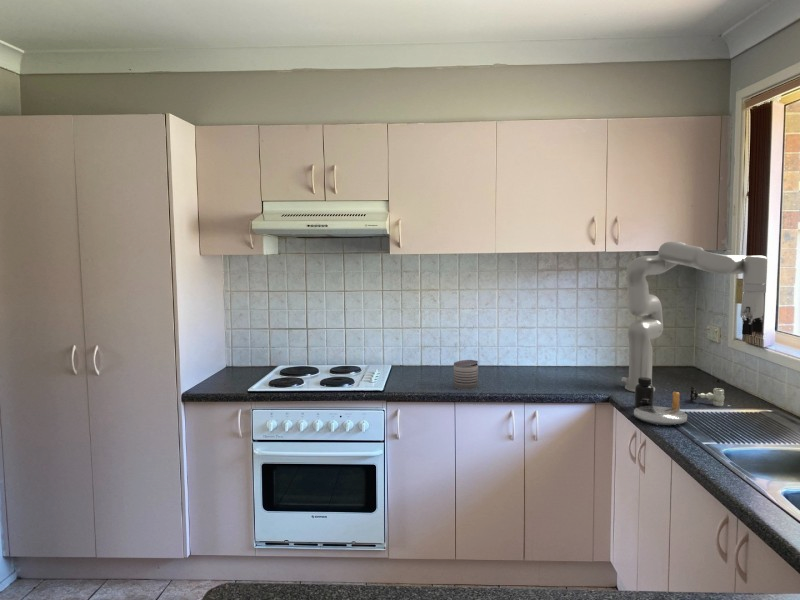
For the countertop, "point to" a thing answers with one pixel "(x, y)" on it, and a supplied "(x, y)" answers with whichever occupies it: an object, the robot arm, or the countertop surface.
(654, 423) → the turntable base
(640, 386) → the supplement bottle
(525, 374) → the countertop surface
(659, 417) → the turntable
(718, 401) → the valve
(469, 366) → the can
